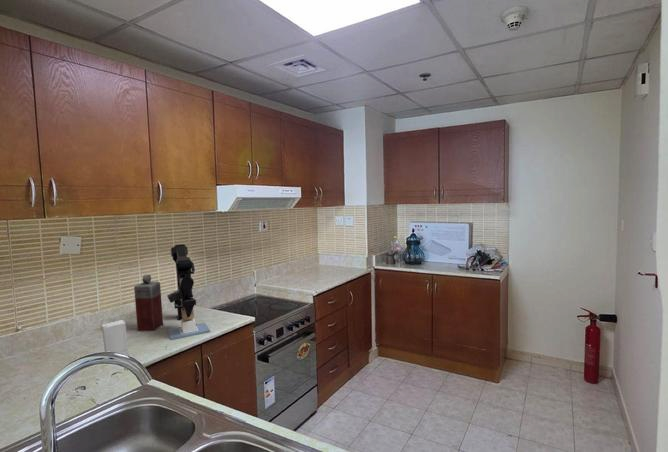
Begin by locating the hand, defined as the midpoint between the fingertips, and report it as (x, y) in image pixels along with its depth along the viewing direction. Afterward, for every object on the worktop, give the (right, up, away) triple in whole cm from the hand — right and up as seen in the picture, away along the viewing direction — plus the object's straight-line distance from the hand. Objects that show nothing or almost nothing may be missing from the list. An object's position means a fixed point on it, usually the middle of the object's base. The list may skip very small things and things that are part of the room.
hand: (187, 315), depth 185 cm
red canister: (-24, -9, +9) cm, 27 cm away
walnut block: (0, -1, 0) cm, 1 cm away
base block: (0, -7, +1) cm, 7 cm away
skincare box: (-20, -11, -27) cm, 35 cm away
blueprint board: (0, -8, +1) cm, 8 cm away
